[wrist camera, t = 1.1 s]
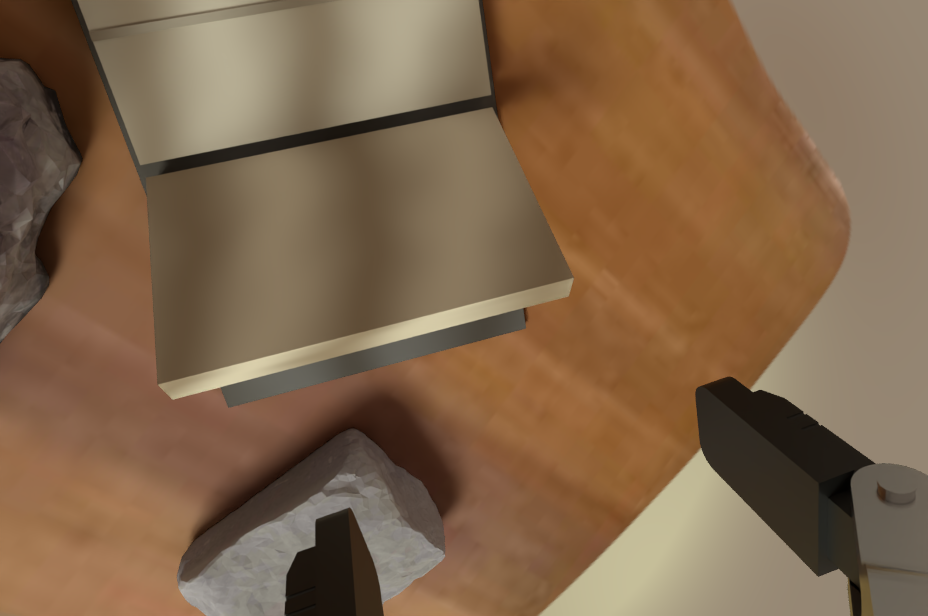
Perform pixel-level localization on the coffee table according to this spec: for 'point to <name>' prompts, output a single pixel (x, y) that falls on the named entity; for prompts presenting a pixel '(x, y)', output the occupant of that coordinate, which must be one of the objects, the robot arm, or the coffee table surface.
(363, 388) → the coffee table surface
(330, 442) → the stone block
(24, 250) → the geode
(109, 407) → the coffee table surface
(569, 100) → the coffee table surface
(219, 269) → the beige flat rectangular panel
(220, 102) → the laid floor
